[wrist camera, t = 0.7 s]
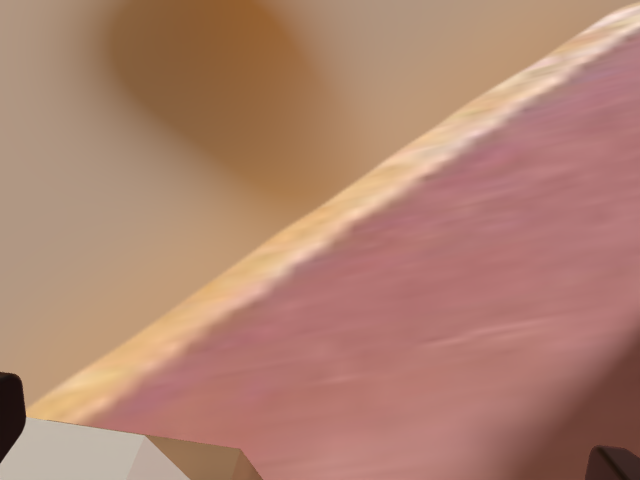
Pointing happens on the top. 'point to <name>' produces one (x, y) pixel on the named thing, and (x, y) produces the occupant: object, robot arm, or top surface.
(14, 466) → the grey block
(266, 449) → the top surface
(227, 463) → the walnut slab
